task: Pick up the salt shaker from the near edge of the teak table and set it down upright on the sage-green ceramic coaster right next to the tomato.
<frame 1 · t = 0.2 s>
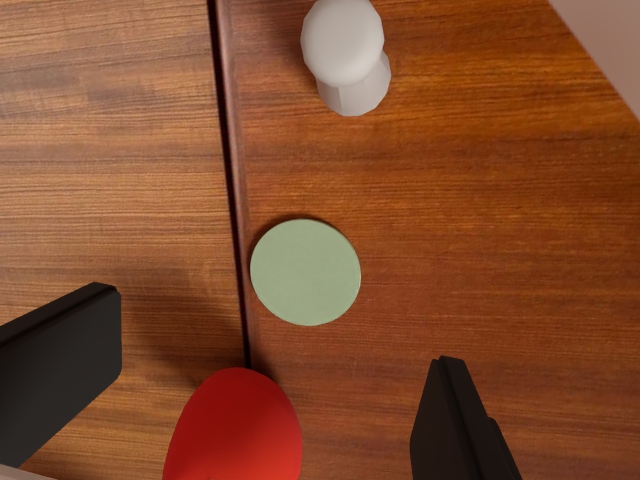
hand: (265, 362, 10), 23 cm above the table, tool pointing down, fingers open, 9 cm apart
tomato: (262, 392, 39), on the table
salt shaker: (354, 83, 29), on the table
coaster: (305, 272, 34), on the table
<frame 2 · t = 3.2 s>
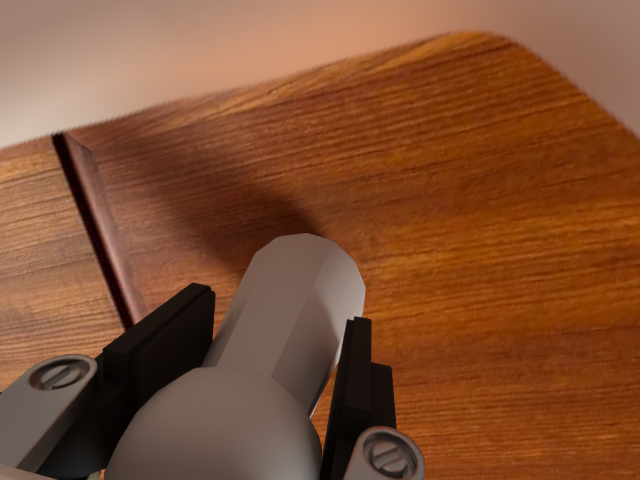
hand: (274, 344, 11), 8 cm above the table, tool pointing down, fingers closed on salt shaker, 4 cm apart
salt shaker: (311, 274, 19), on the table, touching gripper
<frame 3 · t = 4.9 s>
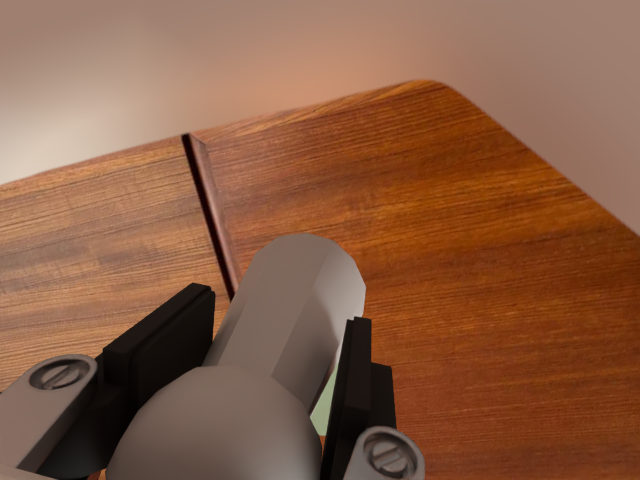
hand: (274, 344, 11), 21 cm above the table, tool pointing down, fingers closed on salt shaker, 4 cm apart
salt shaker: (312, 274, 19), point 13 cm above the table, touching gripper
coaster: (322, 387, 36), on the table
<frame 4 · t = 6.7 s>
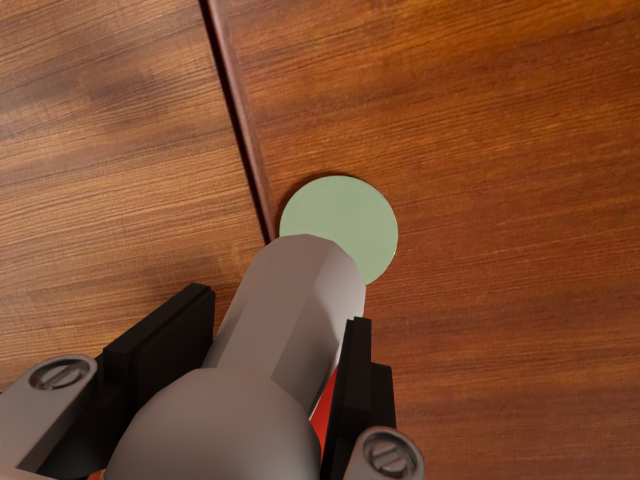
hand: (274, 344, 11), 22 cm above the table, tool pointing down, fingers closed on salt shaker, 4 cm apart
tomato: (314, 373, 37), on the table
salt shaker: (312, 274, 19), point 14 cm above the table, touching gripper
coaster: (337, 234, 32), on the table
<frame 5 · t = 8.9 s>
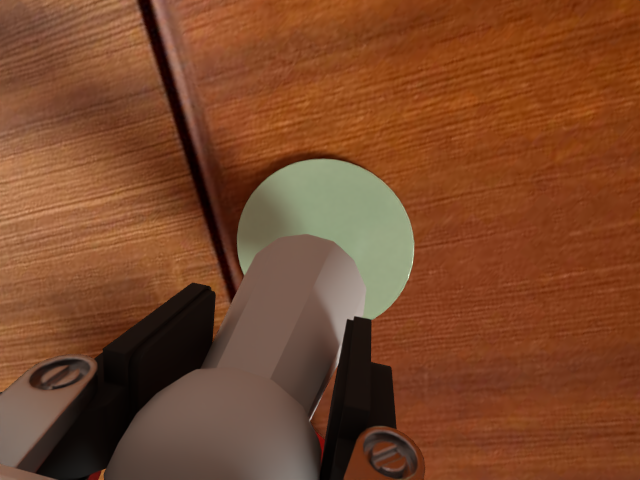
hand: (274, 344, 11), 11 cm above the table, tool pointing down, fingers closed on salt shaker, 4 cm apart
salt shaker: (312, 275, 19), point 3 cm above the table, touching gripper
coaster: (323, 247, 22), on the table
when the fingers open (8 cm above the table, at t = 10.1 s): salt shaker stays where it is, resting on coaster.
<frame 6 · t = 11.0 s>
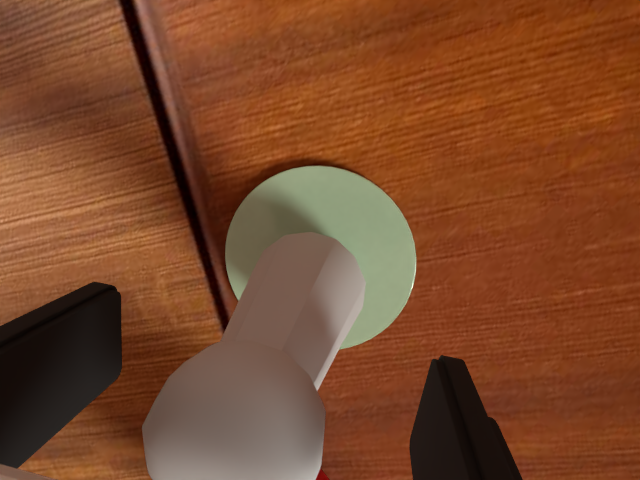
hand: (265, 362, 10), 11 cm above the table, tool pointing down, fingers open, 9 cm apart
salt shaker: (315, 271, 20), resting on coaster
coaster: (318, 261, 20), on the table
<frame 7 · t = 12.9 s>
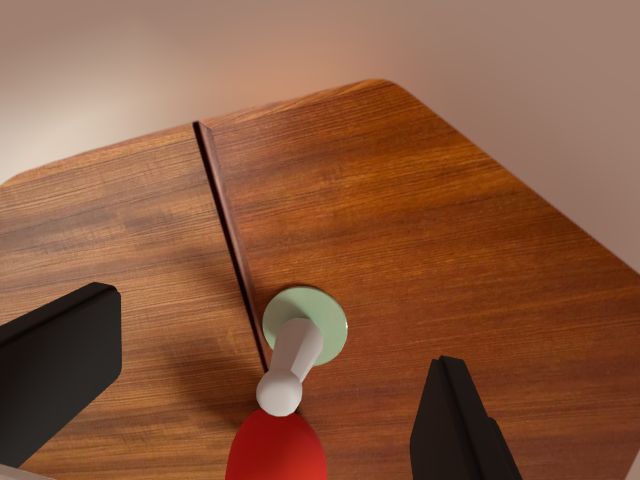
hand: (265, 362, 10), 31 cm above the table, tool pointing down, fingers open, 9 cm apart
tomato: (290, 423, 49), on the table
salt shaker: (303, 330, 44), resting on coaster
coaster: (305, 325, 44), on the table
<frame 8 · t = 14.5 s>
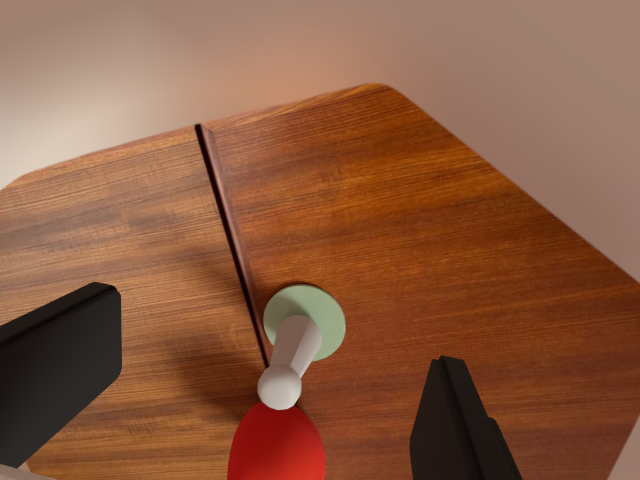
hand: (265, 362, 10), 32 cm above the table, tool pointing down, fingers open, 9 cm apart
tomato: (290, 416, 50), on the table
salt shaker: (303, 327, 46), resting on coaster
coaster: (304, 322, 46), on the table
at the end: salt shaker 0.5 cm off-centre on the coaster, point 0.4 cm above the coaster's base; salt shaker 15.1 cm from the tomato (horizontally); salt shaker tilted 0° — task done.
